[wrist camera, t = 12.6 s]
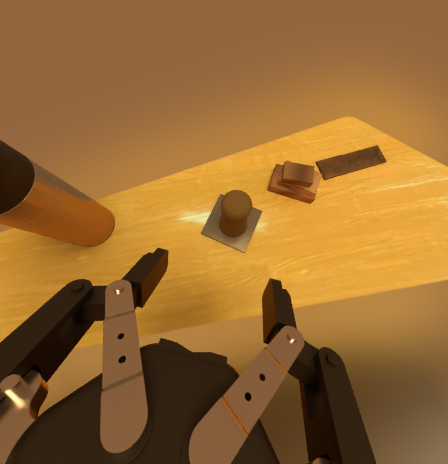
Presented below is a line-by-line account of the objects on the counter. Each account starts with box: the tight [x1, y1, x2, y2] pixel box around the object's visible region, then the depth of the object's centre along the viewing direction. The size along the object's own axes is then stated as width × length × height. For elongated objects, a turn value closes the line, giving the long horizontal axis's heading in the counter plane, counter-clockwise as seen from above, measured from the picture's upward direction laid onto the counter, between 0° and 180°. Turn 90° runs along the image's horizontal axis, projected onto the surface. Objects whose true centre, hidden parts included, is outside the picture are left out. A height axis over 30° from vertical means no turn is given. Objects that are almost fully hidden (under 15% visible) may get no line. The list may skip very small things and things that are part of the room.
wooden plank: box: [316, 145, 386, 180], centre depth 44 cm, size 17×1×5 cm
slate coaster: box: [201, 194, 262, 253], centre depth 39 cm, size 10×10×1 cm
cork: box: [219, 190, 252, 237], centre depth 33 cm, size 6×6×11 cm
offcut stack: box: [268, 161, 322, 203], centre depth 39 cm, size 10×6×5 cm, turn 71°
